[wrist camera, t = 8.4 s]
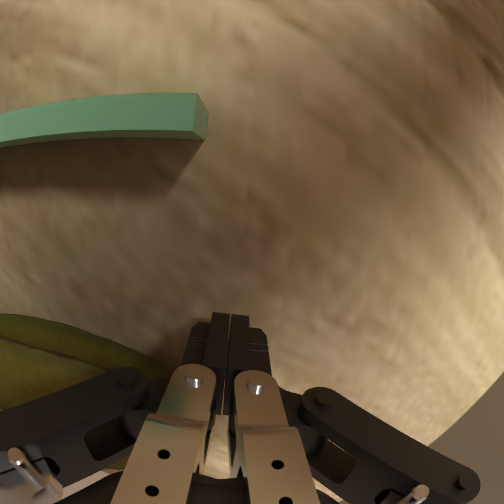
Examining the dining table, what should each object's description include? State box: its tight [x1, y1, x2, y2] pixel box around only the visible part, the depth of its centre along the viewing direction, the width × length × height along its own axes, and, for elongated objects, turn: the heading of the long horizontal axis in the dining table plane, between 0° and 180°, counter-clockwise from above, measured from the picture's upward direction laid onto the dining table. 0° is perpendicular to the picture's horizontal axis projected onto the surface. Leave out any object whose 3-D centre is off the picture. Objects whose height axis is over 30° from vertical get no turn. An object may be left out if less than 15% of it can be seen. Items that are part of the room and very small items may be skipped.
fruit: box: [0, 314, 171, 470], centre depth 10 cm, size 11×12×7 cm
